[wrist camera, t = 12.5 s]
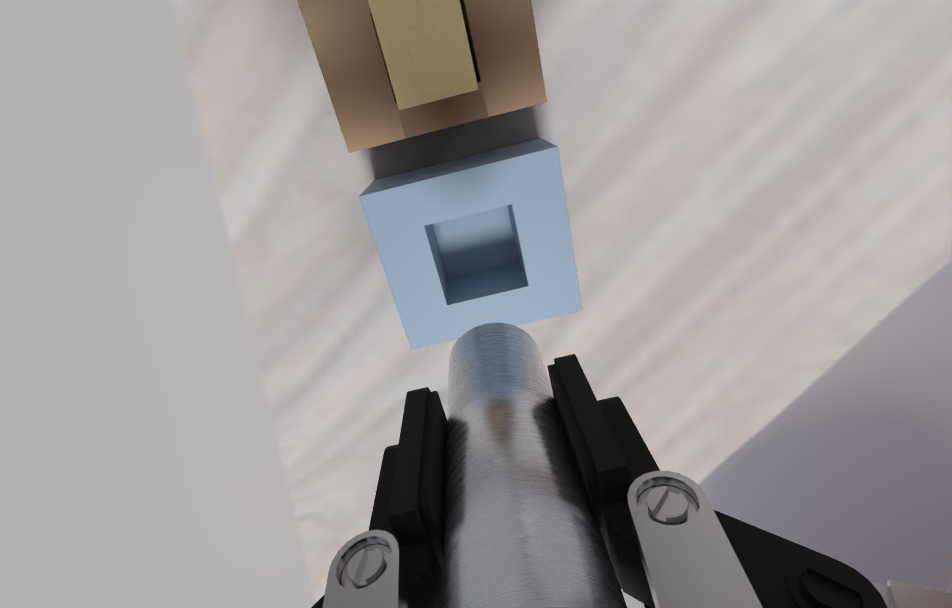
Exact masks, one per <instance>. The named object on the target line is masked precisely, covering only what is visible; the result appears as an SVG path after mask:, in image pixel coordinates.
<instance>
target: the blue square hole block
mask: <svg viewBox="0 0 952 608" xmlns="http://www.w3.org/2000/svg"><path fill="white" fill-rule="evenodd" d="M359 198H360V201H361V204H362V207H363V210H364V213H365V216H366V219H367V222H368V224H369V227H370V230H371V233H372V236H373V239H374V242H375V245H376V248H377V251H378V254H379V257H380V259H381V262H382V265H383V268H384V271H385V274H386V277H387V280H388V283H389V286H390V289H391V292H392V294H393V297H394V300H395V303H396V306H397V309H398V312H399V315H400V318H401V321H402V324H403V327H404V329H405V332H406V335H407V338H408V341H409V344H410V347H411V350H413V349H417V348H421V347H426V346H430V345H434V344H439V343H443V342H447V341H452V340H456V339H459V338H460V337H461V336H462V335H463V334H465V333H466V332H467V331H469V330H471V329H472V328H474V327H477V326H479V325H483V324H487V323H506V324H510V325H514V326H517V325H521V324H525V323H530V322H534V321H538V320H543V319H547V318H551V317H556V316H560V315H564V314H569V313H573V312H577V311H582V310H583V308H582V302H581V295H580V289H579V282H578V276H577V269H576V263H575V256H574V250H573V243H572V237H571V230H570V224H569V217H568V211H567V204H566V197H565V191H564V184H563V178H562V171H561V165H560V158H559V152H558V146H555V145H553V144H551V143H549V142H547V141H545V140H543V139H541V138H538V139H534V140H530V141H526V142H522V143H519V144H515V145H511V146H507V147H503V148H499V149H495V150H491V151H487V152H483V153H479V154H475V155H471V156H467V157H463V158H459V159H455V160H451V161H447V162H443V163H440V164H436V165H432V166H428V167H424V168H420V169H416V170H412V171H408V172H404V173H400V174H396V175H392V176H388V177H384V178H380V179H376V180H374V181H373V182H372V183H371V184H370V185H369V187H368V188H367V189H366V190H365V191H364V192H363V193H362V194H361V195H360V196H359Z"/></svg>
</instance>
